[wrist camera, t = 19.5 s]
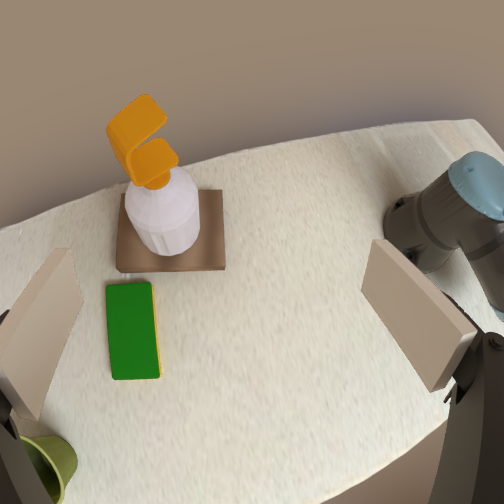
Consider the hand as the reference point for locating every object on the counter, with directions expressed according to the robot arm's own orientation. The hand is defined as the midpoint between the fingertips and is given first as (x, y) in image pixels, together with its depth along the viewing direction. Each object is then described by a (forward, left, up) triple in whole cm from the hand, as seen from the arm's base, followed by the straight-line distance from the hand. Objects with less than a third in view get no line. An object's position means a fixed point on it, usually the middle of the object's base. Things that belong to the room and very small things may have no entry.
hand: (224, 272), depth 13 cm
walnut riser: (+6, -15, -34) cm, 37 cm away
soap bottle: (+6, -15, -31) cm, 35 cm away
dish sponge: (+12, 0, -34) cm, 36 cm away
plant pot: (+27, +21, -34) cm, 48 cm away
